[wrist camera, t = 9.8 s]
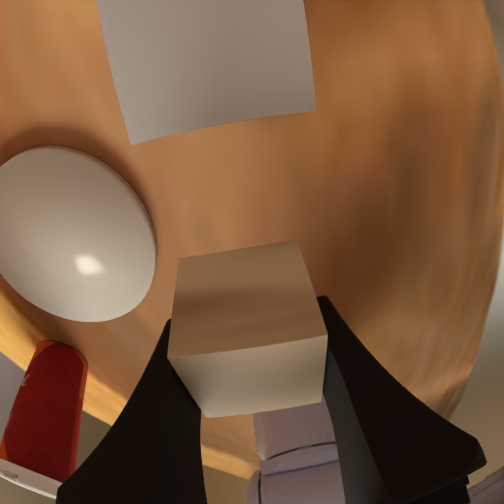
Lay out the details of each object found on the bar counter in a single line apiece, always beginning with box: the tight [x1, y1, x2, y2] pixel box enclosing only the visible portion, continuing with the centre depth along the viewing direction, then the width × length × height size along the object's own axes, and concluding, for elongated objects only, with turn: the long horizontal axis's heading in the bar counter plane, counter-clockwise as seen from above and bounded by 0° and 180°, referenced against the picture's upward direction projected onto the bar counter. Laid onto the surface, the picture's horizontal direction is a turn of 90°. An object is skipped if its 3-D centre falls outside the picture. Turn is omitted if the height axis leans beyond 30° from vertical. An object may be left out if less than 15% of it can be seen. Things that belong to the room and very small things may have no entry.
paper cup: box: [0, 340, 88, 499], centre depth 19 cm, size 8×8×14 cm
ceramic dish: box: [0, 145, 157, 322], centre depth 17 cm, size 13×13×1 cm
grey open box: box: [97, 0, 316, 145], centre depth 9 cm, size 6×6×6 cm
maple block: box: [167, 240, 328, 418], centre depth 10 cm, size 4×4×4 cm
